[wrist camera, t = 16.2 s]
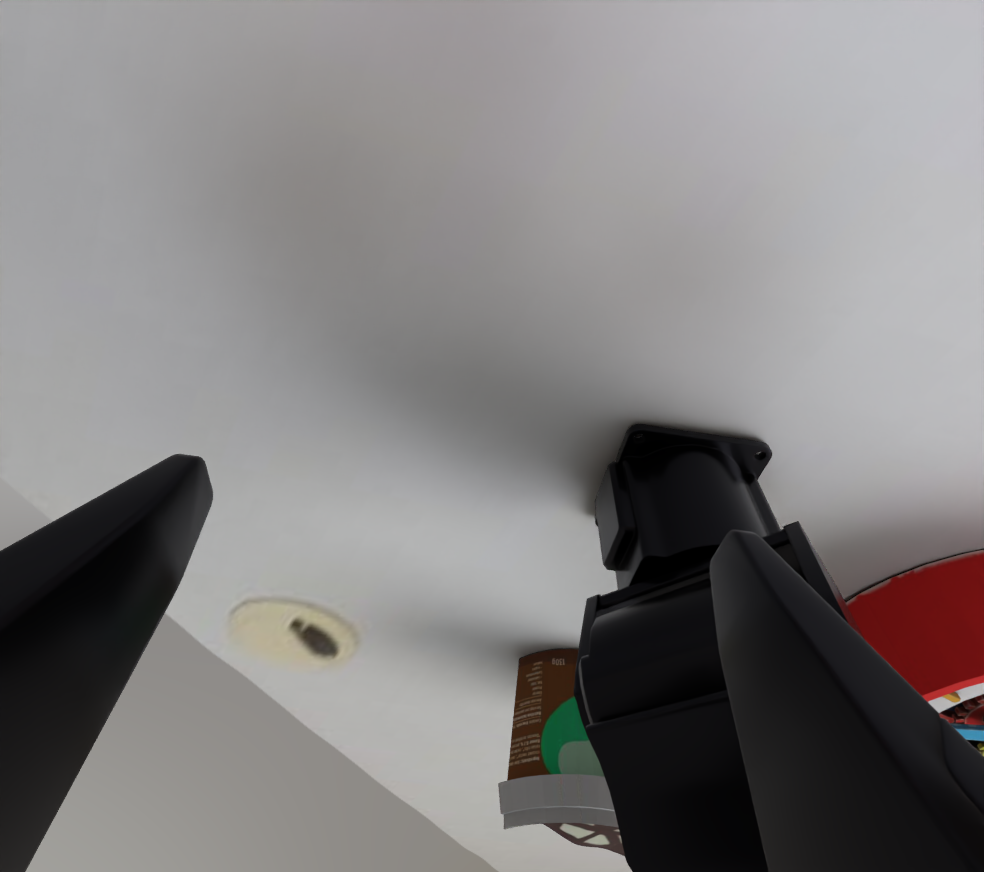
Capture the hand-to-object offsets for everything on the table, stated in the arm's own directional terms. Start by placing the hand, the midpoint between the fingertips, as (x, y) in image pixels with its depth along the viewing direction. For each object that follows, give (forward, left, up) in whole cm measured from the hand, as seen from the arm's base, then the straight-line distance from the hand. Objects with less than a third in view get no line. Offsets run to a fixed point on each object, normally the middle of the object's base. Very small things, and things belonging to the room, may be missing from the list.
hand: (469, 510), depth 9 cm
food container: (-11, +28, -13) cm, 33 cm away
